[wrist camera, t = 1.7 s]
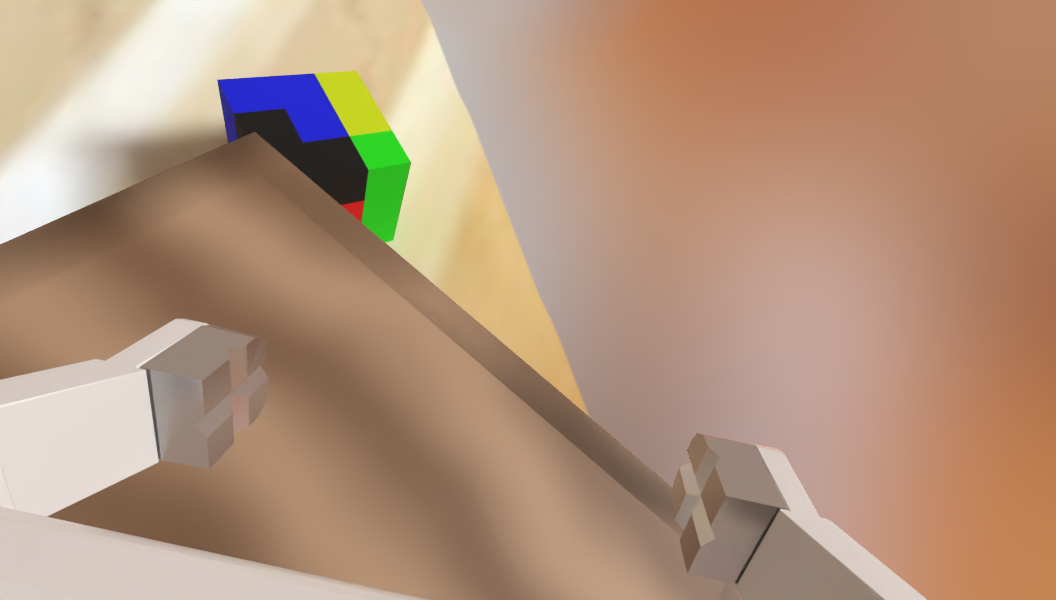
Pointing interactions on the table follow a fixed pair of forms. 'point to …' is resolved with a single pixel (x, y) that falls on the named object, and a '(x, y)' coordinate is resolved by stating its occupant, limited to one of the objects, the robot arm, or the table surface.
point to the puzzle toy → (326, 138)
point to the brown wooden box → (340, 400)
